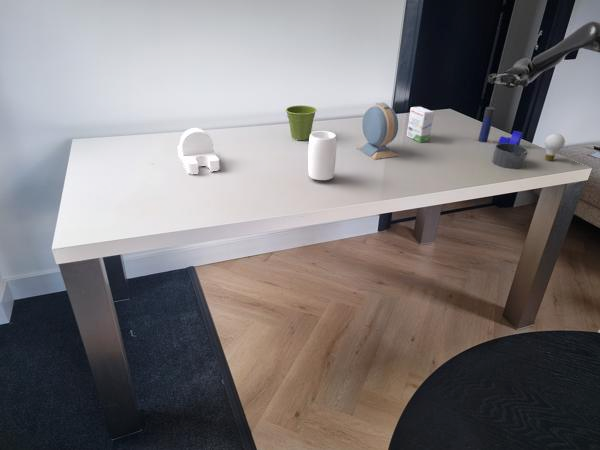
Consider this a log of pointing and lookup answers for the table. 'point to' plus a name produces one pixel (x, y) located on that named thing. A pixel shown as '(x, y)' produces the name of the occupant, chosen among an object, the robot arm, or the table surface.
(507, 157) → the pen pot
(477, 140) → the coaster
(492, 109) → the marker
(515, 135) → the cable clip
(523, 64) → the robot arm
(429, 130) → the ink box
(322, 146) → the cup
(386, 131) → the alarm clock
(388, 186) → the table surface
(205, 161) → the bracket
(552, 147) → the light bulb
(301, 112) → the plant pot
